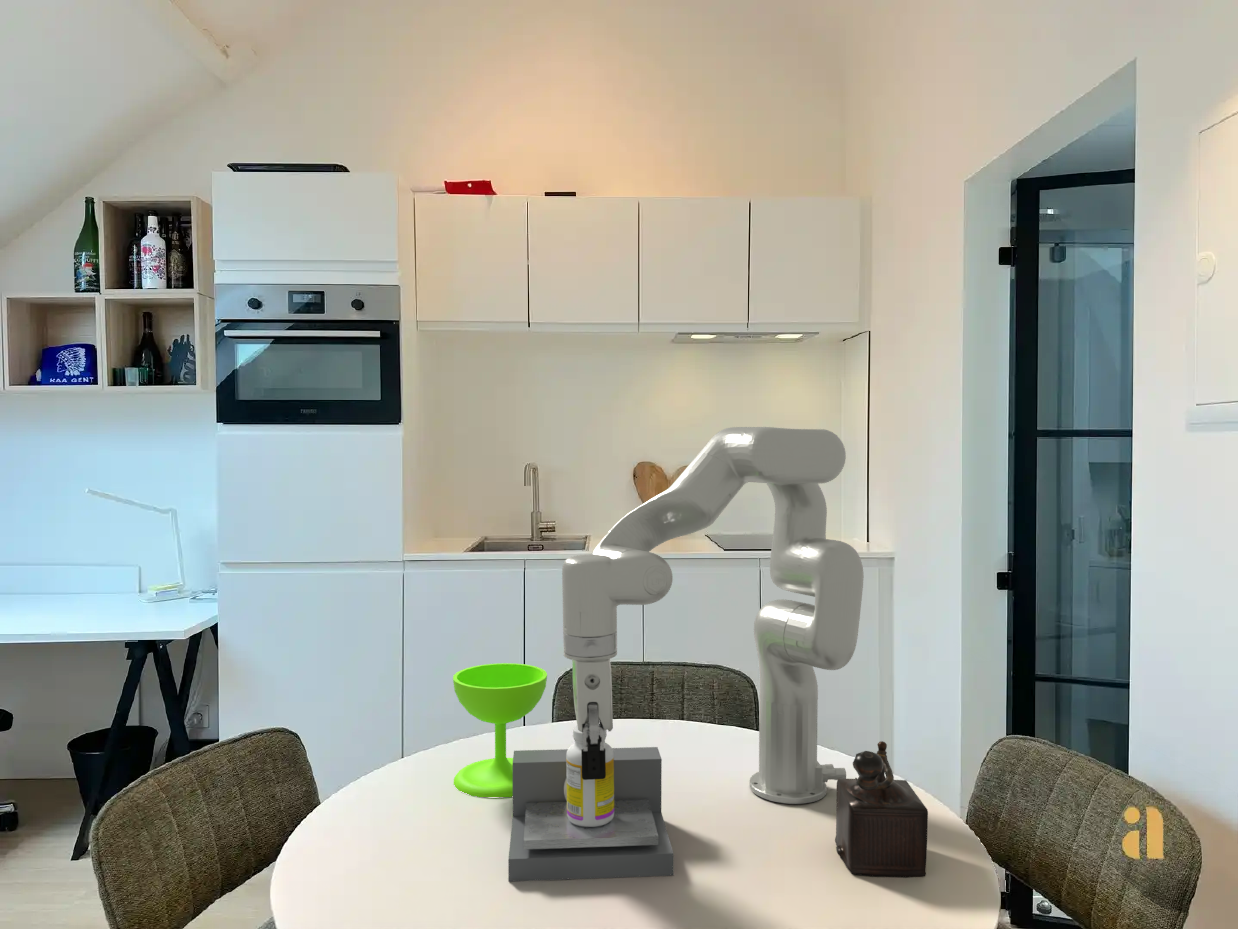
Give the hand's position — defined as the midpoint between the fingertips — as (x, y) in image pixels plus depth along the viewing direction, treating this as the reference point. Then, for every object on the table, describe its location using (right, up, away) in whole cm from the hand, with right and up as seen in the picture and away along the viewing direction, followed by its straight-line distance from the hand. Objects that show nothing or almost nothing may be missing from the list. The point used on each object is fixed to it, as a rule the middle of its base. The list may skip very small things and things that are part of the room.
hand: (592, 764), depth 124 cm
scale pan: (0, -9, 0) cm, 9 cm away
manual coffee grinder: (+40, -13, -3) cm, 42 cm away
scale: (-1, -13, +3) cm, 13 cm away
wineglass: (-17, -12, +28) cm, 34 cm away
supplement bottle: (0, -8, 0) cm, 8 cm away
